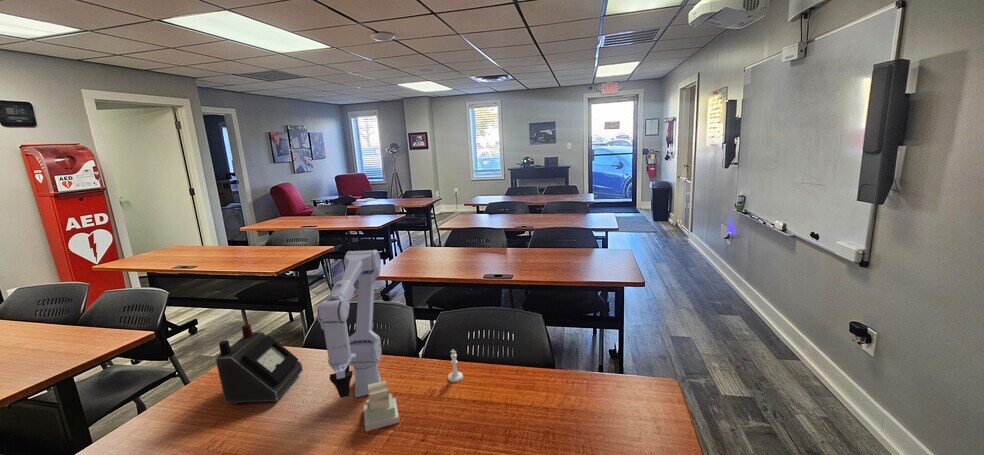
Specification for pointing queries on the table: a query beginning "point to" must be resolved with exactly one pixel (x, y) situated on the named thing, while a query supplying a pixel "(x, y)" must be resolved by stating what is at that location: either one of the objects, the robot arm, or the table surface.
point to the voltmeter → (255, 368)
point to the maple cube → (378, 395)
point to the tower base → (380, 422)
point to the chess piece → (454, 369)
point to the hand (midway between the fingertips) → (344, 388)
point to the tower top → (381, 411)
